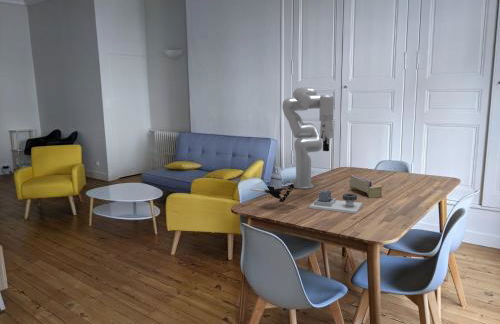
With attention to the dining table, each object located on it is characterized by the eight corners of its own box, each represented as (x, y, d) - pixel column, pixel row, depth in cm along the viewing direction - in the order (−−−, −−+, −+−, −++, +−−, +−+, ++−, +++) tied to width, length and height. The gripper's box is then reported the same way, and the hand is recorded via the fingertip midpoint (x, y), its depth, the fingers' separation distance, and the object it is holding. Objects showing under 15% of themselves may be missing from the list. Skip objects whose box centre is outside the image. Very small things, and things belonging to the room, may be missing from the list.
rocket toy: (283, 191, 191) (242, 186, 203) (283, 203, 192) (243, 198, 204) (294, 185, 204) (255, 181, 215) (294, 196, 205) (256, 192, 216)
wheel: (341, 200, 197) (341, 196, 197) (344, 196, 203) (344, 193, 203) (355, 201, 194) (355, 197, 194) (357, 198, 200) (357, 194, 200)
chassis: (309, 208, 201) (309, 197, 200) (318, 200, 215) (318, 190, 214) (356, 213, 190) (356, 202, 189) (362, 205, 204) (362, 194, 203)
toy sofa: (382, 197, 219) (383, 179, 218) (369, 198, 217) (370, 181, 215) (360, 188, 239) (361, 172, 237) (348, 190, 236) (349, 174, 234)
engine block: (318, 204, 204) (318, 191, 202) (321, 201, 209) (321, 189, 208) (327, 205, 201) (328, 192, 200) (330, 202, 207) (331, 189, 205)
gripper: (329, 119, 204) (328, 153, 207) (336, 117, 217) (335, 149, 220) (315, 118, 207) (315, 152, 210) (323, 117, 220) (323, 148, 224)
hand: (325, 150), depth 215 cm, fingers closed
